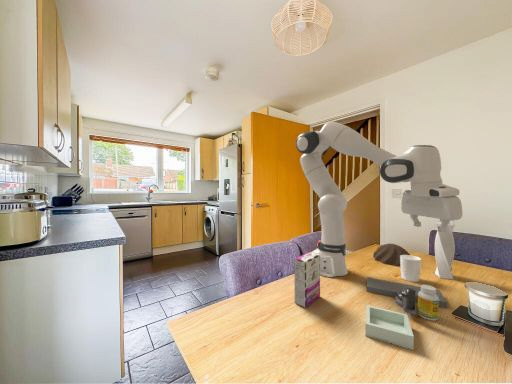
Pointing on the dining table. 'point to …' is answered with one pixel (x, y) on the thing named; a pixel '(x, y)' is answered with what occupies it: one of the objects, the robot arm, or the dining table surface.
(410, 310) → the crank
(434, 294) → the supplement bottle
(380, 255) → the decorative dome
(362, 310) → the dining table surface
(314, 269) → the candy bar box
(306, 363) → the dining table surface
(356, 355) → the dining table surface
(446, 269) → the skyscraper
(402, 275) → the white cup
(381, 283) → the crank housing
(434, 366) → the dining table surface
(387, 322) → the tray
